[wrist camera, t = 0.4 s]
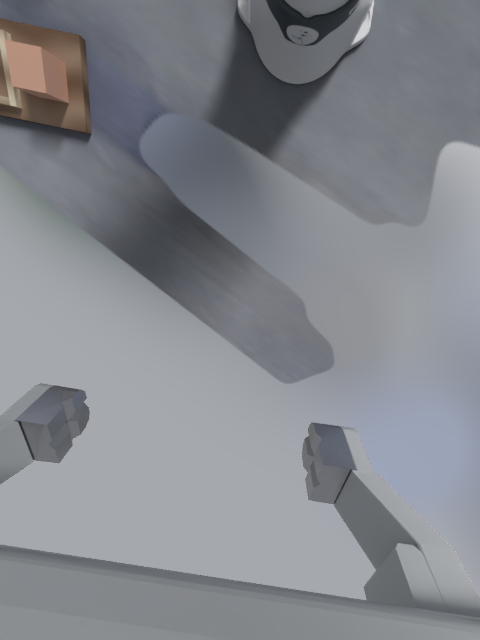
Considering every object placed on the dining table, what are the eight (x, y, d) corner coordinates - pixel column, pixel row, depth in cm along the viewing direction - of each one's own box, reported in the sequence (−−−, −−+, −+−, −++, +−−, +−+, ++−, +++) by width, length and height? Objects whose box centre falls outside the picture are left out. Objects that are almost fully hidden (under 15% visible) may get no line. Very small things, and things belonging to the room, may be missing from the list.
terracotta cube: (32, 56, 40) (4, 39, 36) (65, 62, 40) (40, 46, 36) (38, 97, 42) (12, 86, 38) (68, 103, 42) (46, 93, 38)
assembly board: (-46, 13, 40) (-66, 1, 37) (85, 40, 40) (73, 30, 38) (-24, 110, 45) (-40, 106, 43) (91, 134, 45) (81, 130, 43)
